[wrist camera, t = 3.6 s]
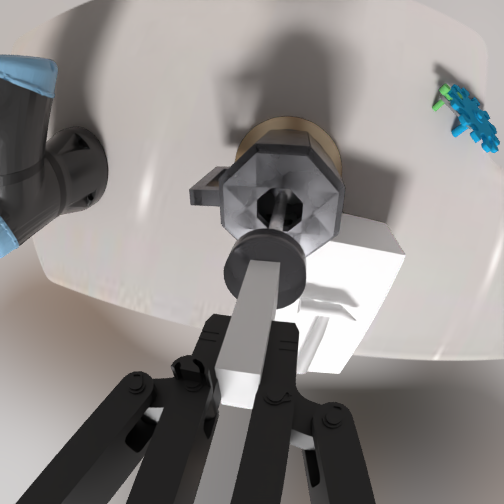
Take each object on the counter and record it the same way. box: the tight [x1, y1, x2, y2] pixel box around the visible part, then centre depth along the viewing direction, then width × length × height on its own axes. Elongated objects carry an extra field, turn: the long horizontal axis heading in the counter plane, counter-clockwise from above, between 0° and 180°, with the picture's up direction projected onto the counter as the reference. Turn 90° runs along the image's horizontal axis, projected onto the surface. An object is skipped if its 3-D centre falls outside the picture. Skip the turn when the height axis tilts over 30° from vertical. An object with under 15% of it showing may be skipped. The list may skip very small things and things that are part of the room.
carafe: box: [189, 129, 345, 257], centre depth 29 cm, size 14×11×14 cm
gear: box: [432, 84, 500, 153], centre depth 24 cm, size 11×6×10 cm
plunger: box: [224, 188, 306, 309], centre depth 20 cm, size 8×8×14 cm
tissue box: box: [275, 213, 406, 374], centre depth 39 cm, size 14×25×11 cm, turn 173°
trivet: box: [235, 117, 342, 177], centre depth 35 cm, size 14×14×1 cm
